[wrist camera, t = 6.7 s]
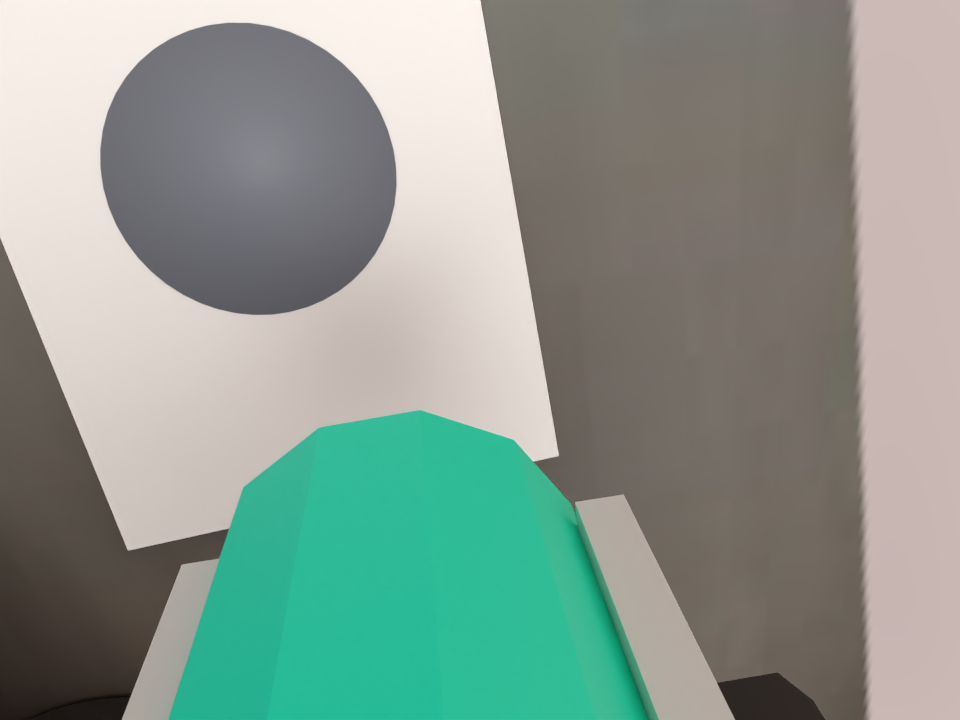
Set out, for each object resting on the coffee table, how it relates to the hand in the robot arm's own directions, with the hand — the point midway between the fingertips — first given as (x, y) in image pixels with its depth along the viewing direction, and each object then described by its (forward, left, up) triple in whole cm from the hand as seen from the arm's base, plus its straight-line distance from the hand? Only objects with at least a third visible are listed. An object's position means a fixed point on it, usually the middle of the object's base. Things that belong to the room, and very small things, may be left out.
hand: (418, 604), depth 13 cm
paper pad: (0, +6, -17) cm, 18 cm away
